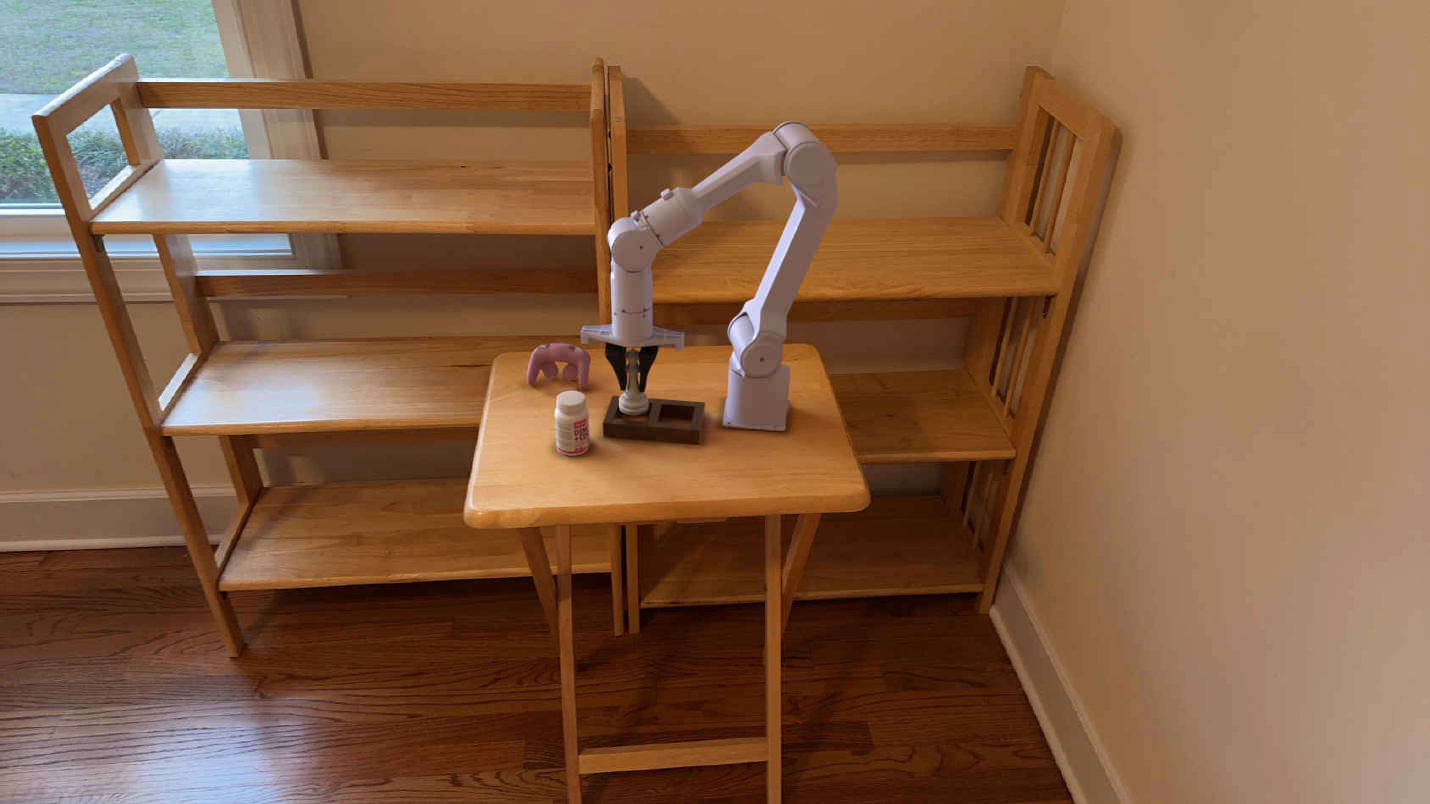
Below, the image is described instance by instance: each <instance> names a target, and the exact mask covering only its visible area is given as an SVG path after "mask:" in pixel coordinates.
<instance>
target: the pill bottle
mask: <svg viewBox="0 0 1430 804" xmlns="http://www.w3.org/2000/svg"><path fill="white" fill-rule="evenodd" d="M586 405H587V402H586V396H585V394H584V393H582V392H580V391H578V390H566V391H561V392H560V393H559V394H558V395H557V396H556V408H555V410H554V425H555V426H554V427H555V446H556V449H557V451H558V452H559V453H560V454H562V455H565V456H571V457H575V456H576V457H577V456H579V455H582V454H584V453H586V452H587V451H588V450H589V448H590V421H589V419H590V417H589V409H588V407H587V406H586Z"/></svg>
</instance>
